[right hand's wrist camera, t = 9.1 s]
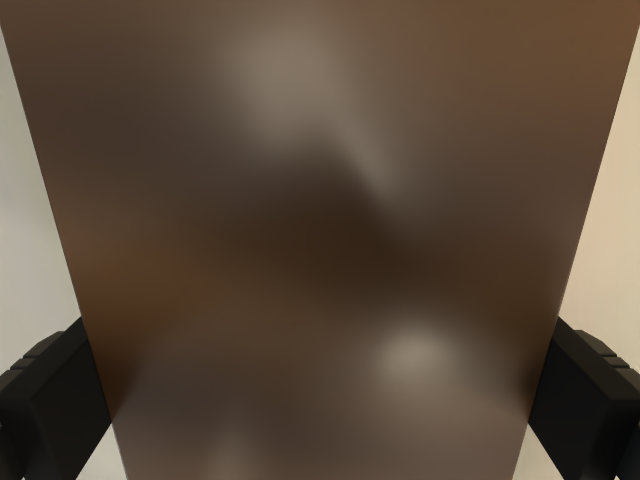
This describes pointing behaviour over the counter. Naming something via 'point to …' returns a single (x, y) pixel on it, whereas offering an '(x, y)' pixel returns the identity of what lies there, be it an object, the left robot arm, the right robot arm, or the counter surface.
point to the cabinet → (319, 219)
